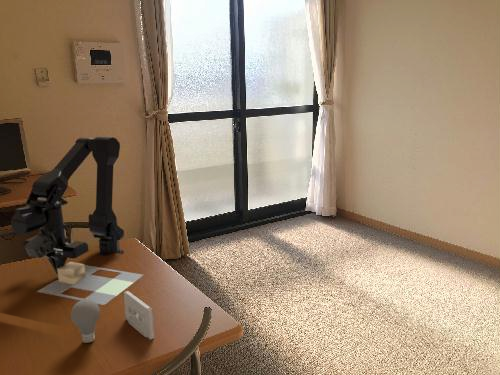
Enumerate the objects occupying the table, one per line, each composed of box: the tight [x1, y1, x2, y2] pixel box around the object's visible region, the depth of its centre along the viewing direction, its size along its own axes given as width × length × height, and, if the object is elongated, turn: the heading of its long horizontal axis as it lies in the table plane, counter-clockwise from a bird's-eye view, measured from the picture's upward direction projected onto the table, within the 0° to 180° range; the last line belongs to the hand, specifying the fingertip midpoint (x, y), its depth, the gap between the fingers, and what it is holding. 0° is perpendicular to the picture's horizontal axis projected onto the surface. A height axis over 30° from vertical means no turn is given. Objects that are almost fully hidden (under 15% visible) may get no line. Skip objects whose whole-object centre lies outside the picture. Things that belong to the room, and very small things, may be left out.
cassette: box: [123, 290, 155, 340], centre depth 98 cm, size 12×2×8 cm, turn 43°
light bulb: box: [70, 298, 101, 344], centre depth 93 cm, size 6×6×10 cm
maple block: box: [57, 261, 86, 284], centre depth 120 cm, size 5×5×4 cm
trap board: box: [36, 264, 144, 306], centre depth 119 cm, size 18×22×2 cm
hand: (59, 273), depth 122 cm, fingers closed
